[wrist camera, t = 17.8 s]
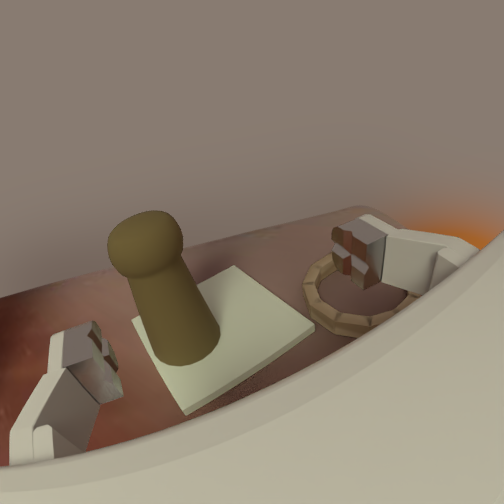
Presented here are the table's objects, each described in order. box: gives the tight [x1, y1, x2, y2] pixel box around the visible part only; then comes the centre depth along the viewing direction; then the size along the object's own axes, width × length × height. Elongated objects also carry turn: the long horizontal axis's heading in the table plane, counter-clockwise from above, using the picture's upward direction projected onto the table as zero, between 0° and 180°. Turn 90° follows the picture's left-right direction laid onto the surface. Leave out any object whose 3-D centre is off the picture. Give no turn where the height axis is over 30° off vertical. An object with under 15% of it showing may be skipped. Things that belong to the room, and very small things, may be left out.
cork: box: [107, 211, 221, 367], centre depth 22 cm, size 6×6×11 cm
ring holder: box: [302, 252, 420, 338], centre depth 26 cm, size 10×10×2 cm
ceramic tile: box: [132, 265, 315, 416], centre depth 26 cm, size 12×12×1 cm
